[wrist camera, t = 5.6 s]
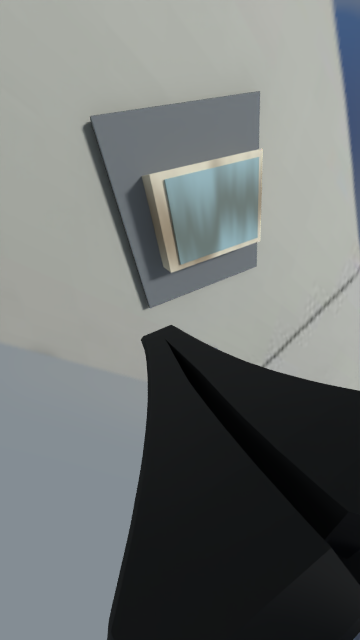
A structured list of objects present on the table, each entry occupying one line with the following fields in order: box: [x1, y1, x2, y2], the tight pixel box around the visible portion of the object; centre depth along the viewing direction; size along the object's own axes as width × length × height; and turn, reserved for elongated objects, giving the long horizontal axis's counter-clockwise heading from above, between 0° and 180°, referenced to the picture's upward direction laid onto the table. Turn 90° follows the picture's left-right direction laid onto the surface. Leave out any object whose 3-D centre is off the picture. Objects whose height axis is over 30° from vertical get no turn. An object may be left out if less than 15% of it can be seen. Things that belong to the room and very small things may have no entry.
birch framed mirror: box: [142, 148, 263, 273], centre depth 16 cm, size 6×2×8 cm
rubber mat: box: [90, 91, 260, 308], centre depth 16 cm, size 12×11×1 cm
